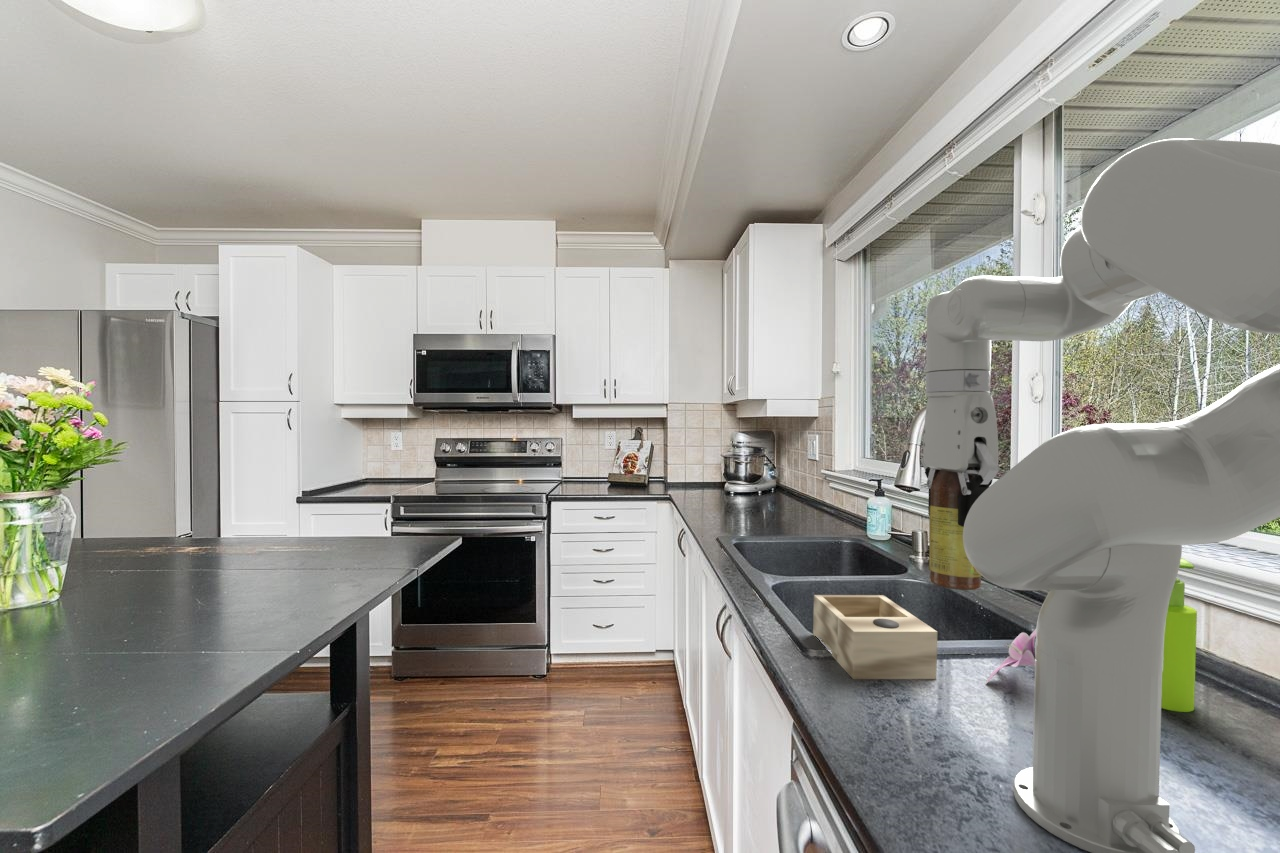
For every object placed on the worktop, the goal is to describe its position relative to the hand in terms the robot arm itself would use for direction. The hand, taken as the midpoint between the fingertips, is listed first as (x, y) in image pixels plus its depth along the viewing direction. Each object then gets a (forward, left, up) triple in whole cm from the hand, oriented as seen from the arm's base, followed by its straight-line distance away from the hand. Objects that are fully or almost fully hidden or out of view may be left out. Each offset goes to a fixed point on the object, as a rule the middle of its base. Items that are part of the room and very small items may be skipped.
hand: (955, 520), depth 77 cm
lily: (+6, -14, -25) cm, 29 cm away
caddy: (+16, +4, -25) cm, 30 cm away
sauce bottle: (0, 0, -9) cm, 9 cm away
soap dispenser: (0, -30, -25) cm, 39 cm away
